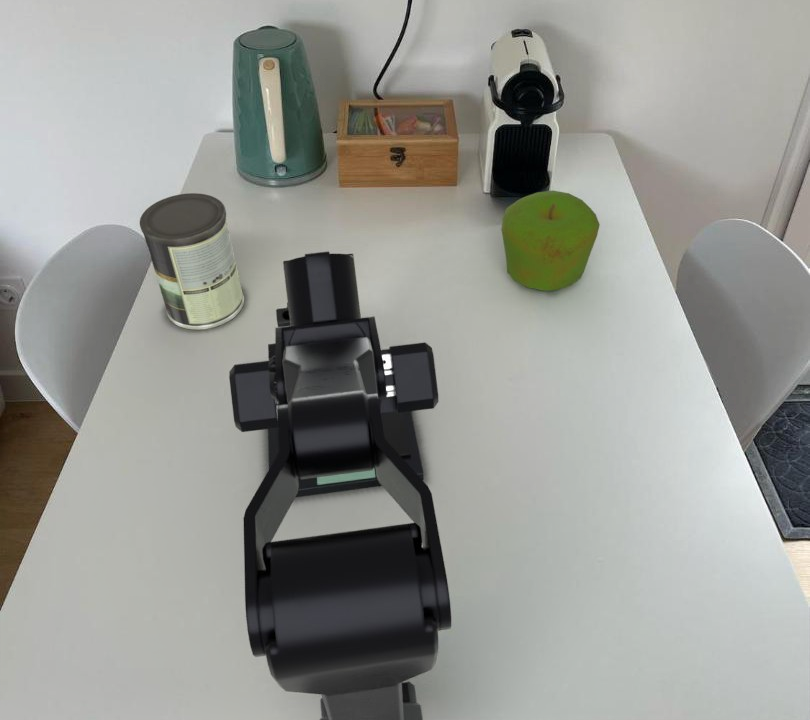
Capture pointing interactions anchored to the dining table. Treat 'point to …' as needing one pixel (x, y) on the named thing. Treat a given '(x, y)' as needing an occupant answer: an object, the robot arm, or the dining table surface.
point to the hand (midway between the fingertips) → (336, 389)
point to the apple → (548, 239)
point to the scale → (398, 436)
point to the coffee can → (193, 260)
